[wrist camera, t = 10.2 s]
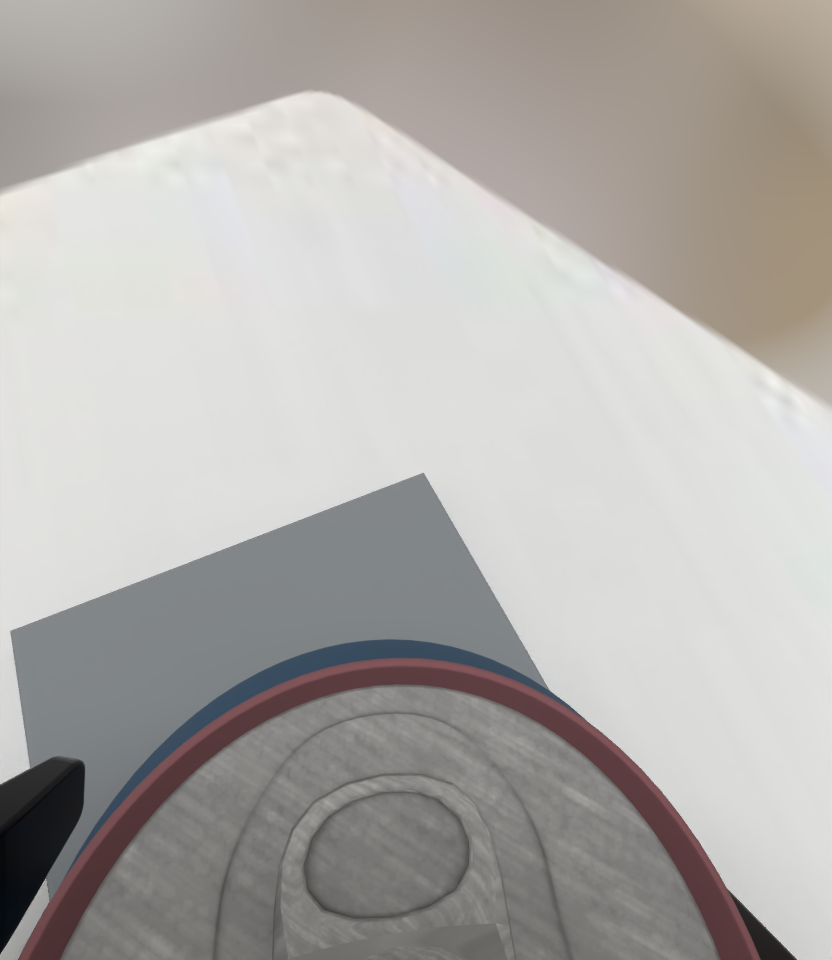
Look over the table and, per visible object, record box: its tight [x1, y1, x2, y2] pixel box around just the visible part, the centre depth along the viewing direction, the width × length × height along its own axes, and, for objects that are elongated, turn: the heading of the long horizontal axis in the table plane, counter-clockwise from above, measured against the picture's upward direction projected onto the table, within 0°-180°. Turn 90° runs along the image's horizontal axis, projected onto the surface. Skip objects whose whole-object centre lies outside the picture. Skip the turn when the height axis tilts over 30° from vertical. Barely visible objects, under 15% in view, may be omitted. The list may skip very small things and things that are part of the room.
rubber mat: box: [10, 473, 550, 901], centre depth 14 cm, size 20×14×1 cm
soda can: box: [18, 639, 761, 960], centre depth 9 cm, size 7×7×12 cm
